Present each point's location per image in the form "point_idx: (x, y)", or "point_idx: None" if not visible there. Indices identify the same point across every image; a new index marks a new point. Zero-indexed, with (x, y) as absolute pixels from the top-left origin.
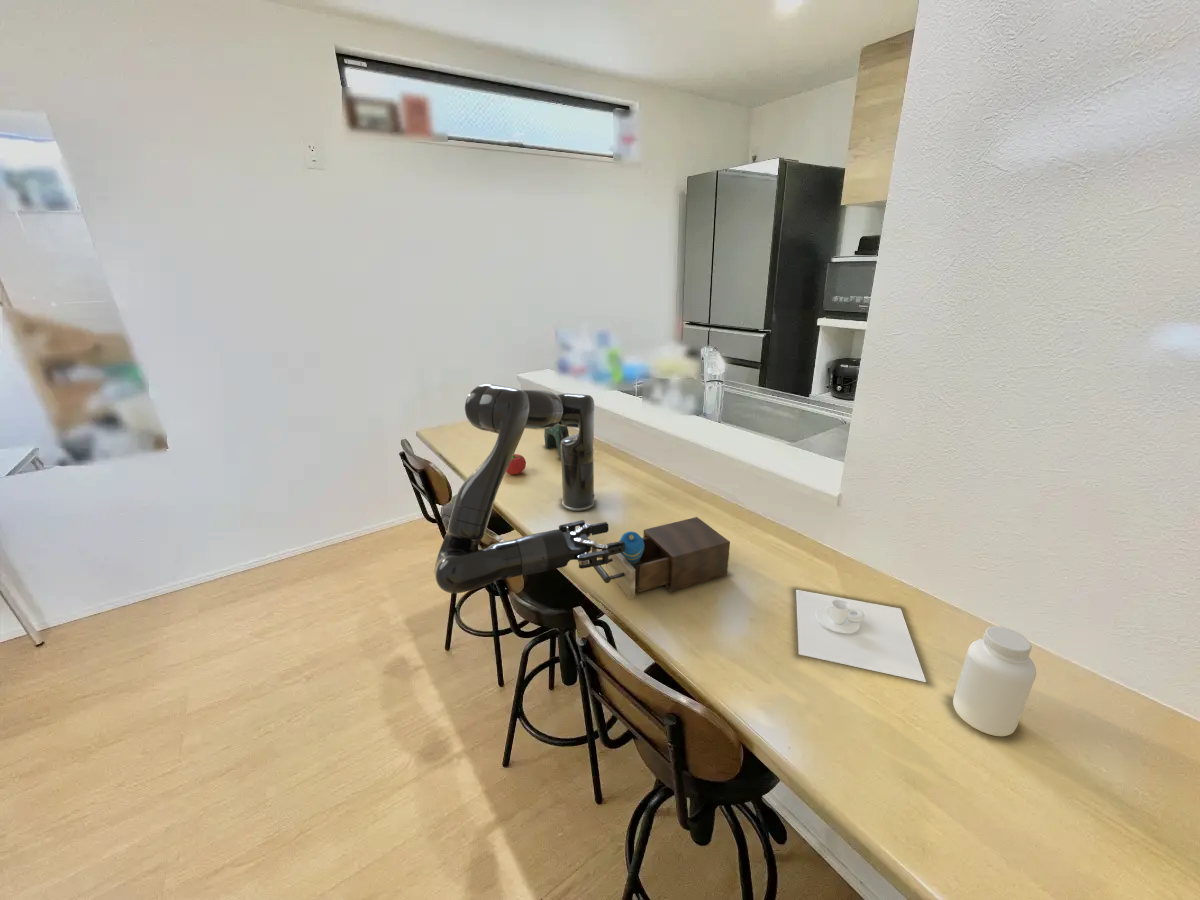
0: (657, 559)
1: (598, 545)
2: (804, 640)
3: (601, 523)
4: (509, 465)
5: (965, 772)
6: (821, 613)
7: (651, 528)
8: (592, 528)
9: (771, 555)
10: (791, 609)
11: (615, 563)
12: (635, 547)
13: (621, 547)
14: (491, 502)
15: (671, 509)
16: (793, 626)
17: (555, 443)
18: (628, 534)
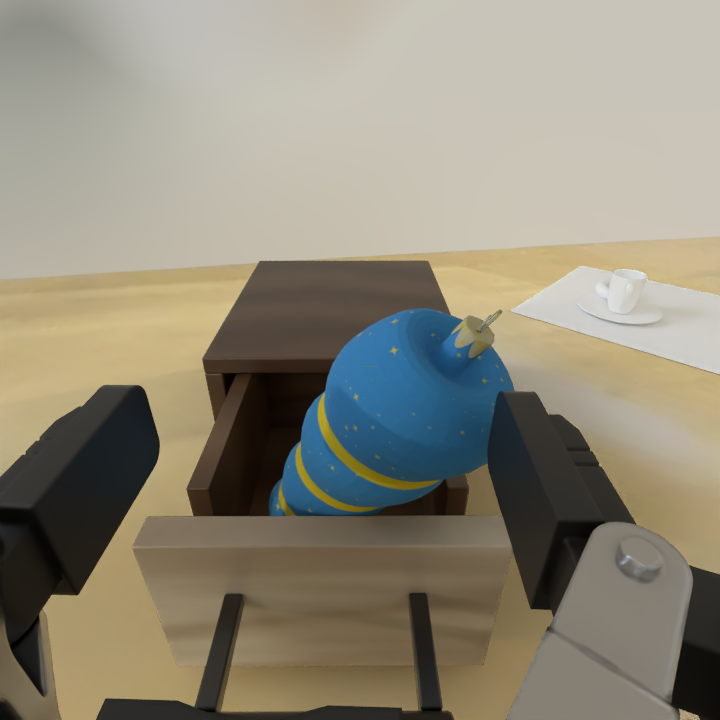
0: (287, 439)
1: (615, 638)
2: (688, 359)
3: (89, 416)
4: None
5: None
6: (600, 313)
7: (218, 339)
8: (44, 530)
9: None
10: (575, 336)
11: (291, 595)
12: (512, 387)
13: (575, 437)
14: None
15: (69, 331)
16: (637, 354)
17: None
18: (417, 338)
